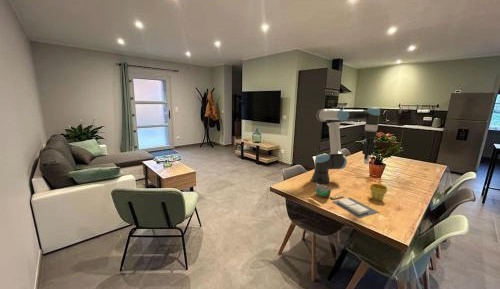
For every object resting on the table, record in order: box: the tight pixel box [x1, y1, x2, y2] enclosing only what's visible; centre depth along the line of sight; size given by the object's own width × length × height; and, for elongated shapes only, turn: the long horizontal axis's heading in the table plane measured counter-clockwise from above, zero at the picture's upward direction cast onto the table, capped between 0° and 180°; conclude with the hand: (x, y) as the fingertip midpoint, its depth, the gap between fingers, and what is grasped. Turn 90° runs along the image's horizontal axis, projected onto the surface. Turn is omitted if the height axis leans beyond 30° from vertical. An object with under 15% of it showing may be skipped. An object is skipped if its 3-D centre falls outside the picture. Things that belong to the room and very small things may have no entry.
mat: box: [331, 197, 380, 219], centre depth 137 cm, size 22×18×1 cm
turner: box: [329, 194, 345, 201], centre depth 151 cm, size 18×6×2 cm, turn 114°
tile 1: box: [337, 197, 356, 208], centre depth 140 cm, size 8×2×8 cm
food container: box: [314, 182, 333, 199], centre depth 150 cm, size 12×6×10 cm, turn 45°
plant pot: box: [369, 183, 388, 202], centre depth 151 cm, size 10×10×10 cm
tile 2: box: [349, 204, 369, 215], centre depth 132 cm, size 8×2×8 cm
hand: (366, 163), depth 147 cm, fingers closed
